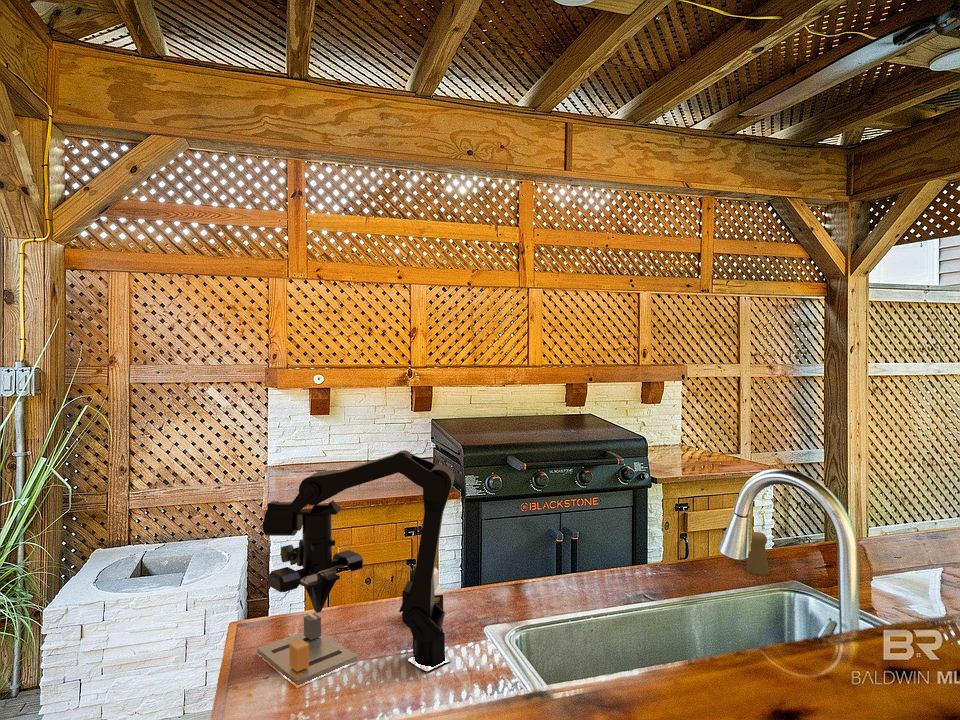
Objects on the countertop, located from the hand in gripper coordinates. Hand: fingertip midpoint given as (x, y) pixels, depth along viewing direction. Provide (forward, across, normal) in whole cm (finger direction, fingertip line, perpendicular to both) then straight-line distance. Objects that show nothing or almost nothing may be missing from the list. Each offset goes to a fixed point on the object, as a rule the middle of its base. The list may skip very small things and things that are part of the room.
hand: (317, 611), depth 117 cm
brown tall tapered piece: (+10, -112, +48) cm, 122 cm away
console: (+10, +1, -3) cm, 10 cm away
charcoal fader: (+8, -3, -7) cm, 11 cm away
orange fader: (+8, +5, +2) cm, 10 cm away
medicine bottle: (+10, -28, +1) cm, 29 cm away
